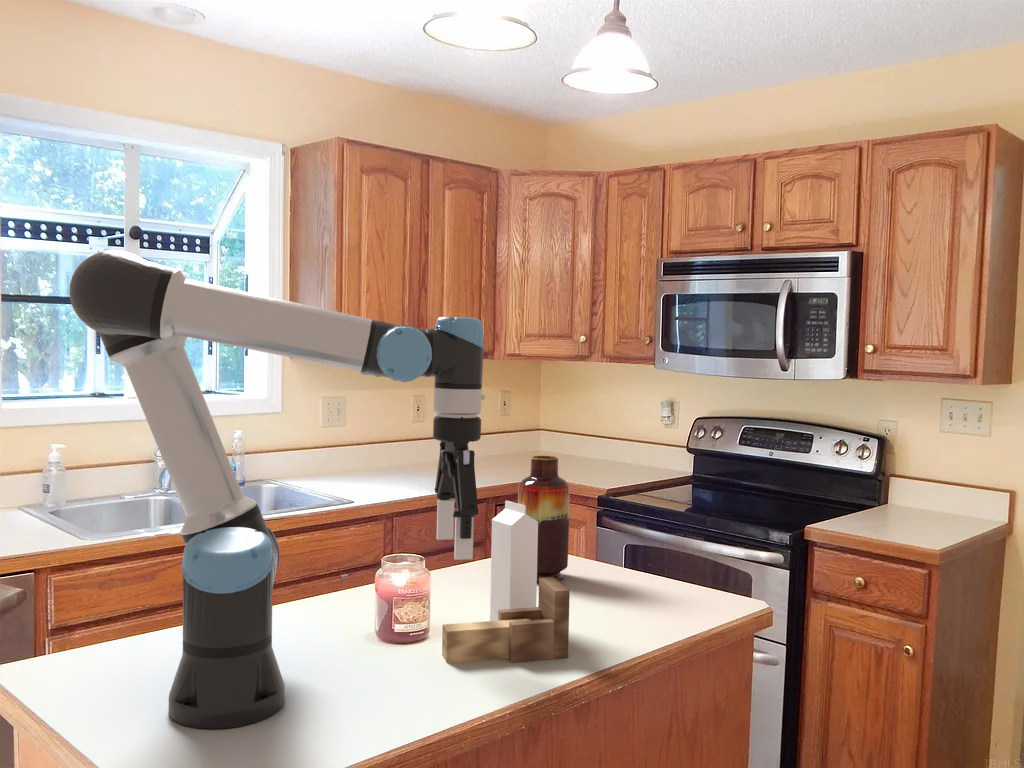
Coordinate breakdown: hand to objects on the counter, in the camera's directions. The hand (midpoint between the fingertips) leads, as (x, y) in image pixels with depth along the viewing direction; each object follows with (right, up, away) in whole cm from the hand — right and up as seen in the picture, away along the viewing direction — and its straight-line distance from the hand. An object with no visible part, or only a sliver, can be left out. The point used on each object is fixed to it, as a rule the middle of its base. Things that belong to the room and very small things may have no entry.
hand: (453, 548), depth 140 cm
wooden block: (+5, -18, +2) cm, 19 cm away
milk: (+9, -17, +18) cm, 27 cm away
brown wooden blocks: (+13, -18, +5) cm, 22 cm away
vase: (+16, -16, +50) cm, 55 cm away
